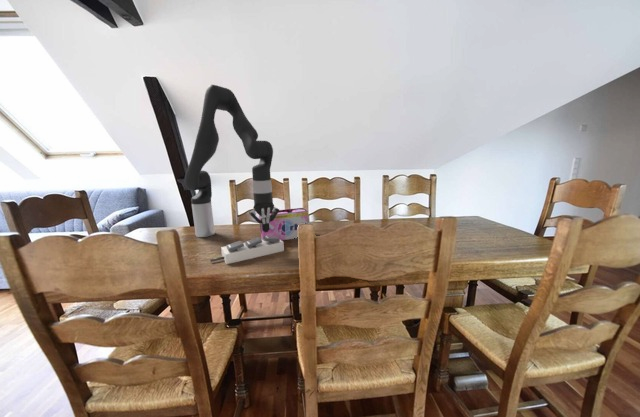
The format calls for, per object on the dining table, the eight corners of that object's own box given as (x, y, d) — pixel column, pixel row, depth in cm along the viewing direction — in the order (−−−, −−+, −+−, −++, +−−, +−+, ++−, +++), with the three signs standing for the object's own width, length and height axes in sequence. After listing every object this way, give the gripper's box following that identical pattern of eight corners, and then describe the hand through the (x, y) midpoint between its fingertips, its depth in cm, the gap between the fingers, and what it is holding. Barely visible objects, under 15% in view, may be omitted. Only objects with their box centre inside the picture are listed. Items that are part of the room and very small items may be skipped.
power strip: (209, 259, 103) (207, 247, 102) (276, 244, 117) (275, 234, 116) (212, 267, 95) (211, 255, 94) (284, 250, 110) (283, 240, 109)
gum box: (260, 243, 119) (258, 215, 116) (258, 238, 126) (256, 212, 123) (308, 236, 127) (308, 210, 124) (304, 232, 134) (303, 207, 131)
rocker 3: (262, 238, 109) (262, 235, 109) (275, 238, 112) (275, 235, 112) (266, 241, 105) (266, 238, 105) (279, 241, 108) (279, 238, 108)
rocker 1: (226, 248, 102) (225, 245, 101) (241, 242, 105) (240, 240, 104) (229, 251, 98) (228, 248, 98) (244, 246, 101) (243, 243, 100)
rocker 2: (245, 244, 106) (244, 241, 105) (258, 239, 108) (258, 236, 108) (248, 248, 102) (247, 245, 101) (262, 242, 104) (261, 239, 104)
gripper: (274, 188, 109) (277, 226, 113) (244, 191, 103) (247, 232, 107) (281, 190, 103) (283, 231, 107) (249, 194, 96) (253, 237, 100)
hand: (265, 231), depth 107 cm, fingers closed
